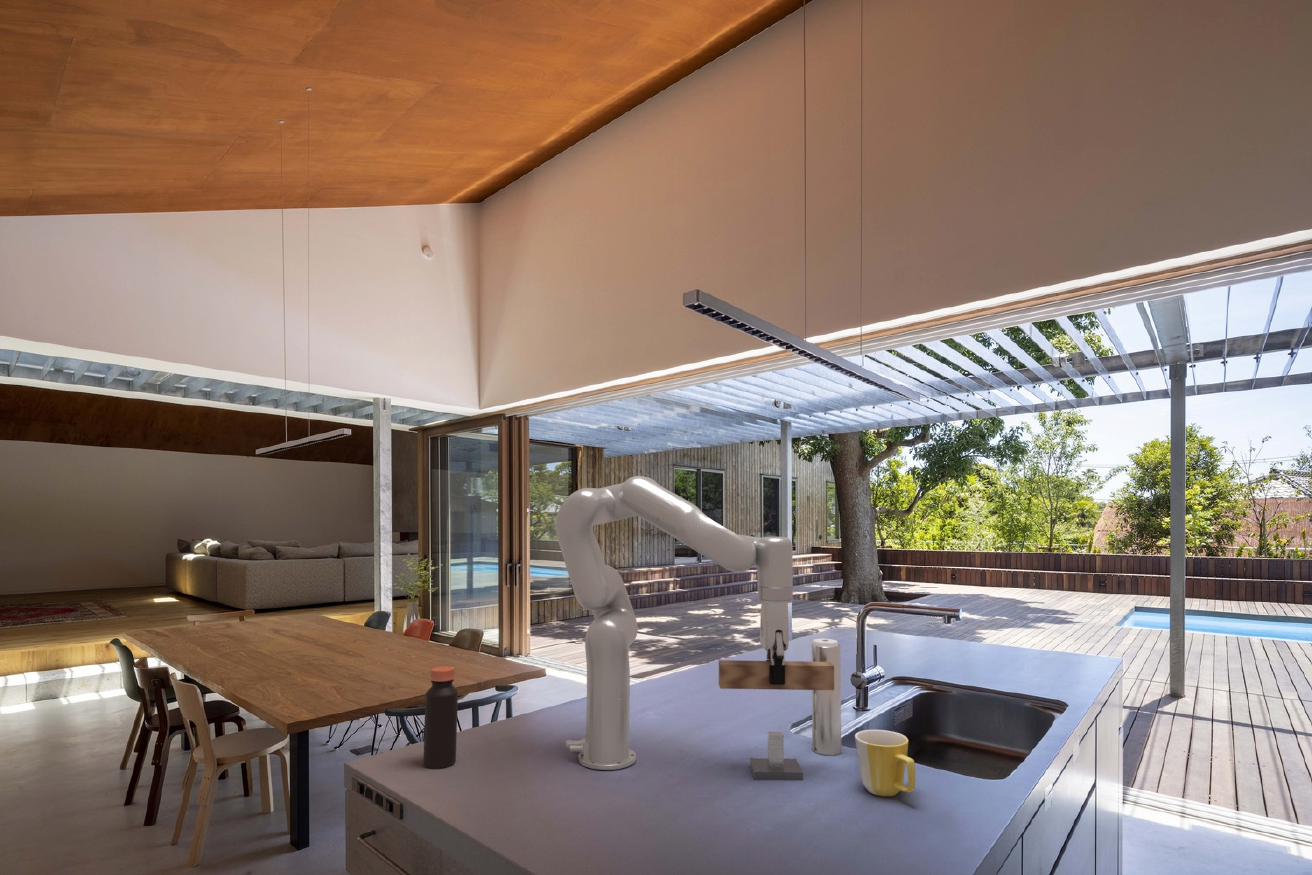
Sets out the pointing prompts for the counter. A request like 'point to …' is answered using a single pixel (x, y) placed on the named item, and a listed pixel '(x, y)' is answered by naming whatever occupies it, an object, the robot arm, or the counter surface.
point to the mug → (884, 762)
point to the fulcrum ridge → (775, 762)
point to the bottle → (440, 719)
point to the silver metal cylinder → (827, 702)
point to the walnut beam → (757, 675)
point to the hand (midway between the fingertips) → (775, 680)
